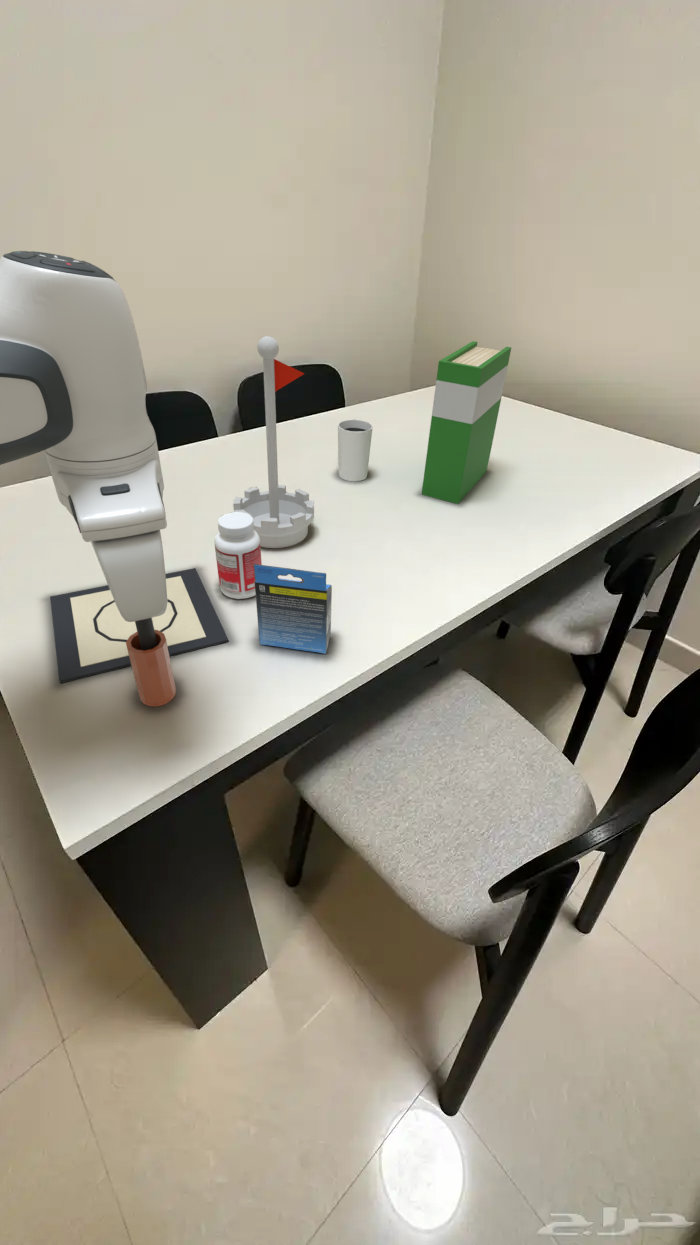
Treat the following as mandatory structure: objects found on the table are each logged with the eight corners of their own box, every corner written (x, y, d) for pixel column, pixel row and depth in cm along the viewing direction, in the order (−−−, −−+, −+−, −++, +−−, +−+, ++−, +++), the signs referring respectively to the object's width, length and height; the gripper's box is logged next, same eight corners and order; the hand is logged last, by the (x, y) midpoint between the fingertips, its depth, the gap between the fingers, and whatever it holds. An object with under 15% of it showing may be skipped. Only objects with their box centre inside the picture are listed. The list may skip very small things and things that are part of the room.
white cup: (354, 485, 113) (357, 434, 107) (329, 474, 116) (330, 425, 110) (376, 475, 117) (379, 426, 111) (351, 465, 120) (353, 417, 114)
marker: (148, 678, 64) (123, 571, 55) (145, 668, 65) (120, 562, 56) (164, 674, 64) (141, 568, 56) (161, 664, 66) (138, 559, 57)
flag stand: (246, 556, 91) (230, 350, 72) (228, 518, 100) (210, 327, 82) (324, 544, 95) (329, 346, 76) (300, 508, 104) (299, 324, 86)
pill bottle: (260, 574, 87) (256, 507, 80) (265, 598, 82) (261, 529, 75) (218, 578, 86) (211, 510, 79) (220, 602, 81) (212, 532, 74)
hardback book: (453, 463, 123) (472, 341, 109) (486, 471, 121) (511, 347, 106) (421, 494, 111) (438, 361, 96) (458, 504, 108) (481, 368, 94)
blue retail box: (331, 636, 76) (334, 556, 69) (326, 655, 73) (328, 573, 66) (266, 626, 77) (261, 546, 70) (257, 645, 74) (252, 563, 67)
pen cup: (143, 710, 65) (129, 657, 60) (137, 687, 67) (123, 634, 62) (179, 700, 66) (168, 647, 61) (172, 678, 69) (161, 625, 64)
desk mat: (60, 683, 67) (58, 679, 67) (50, 598, 80) (49, 595, 80) (228, 641, 75) (228, 638, 74) (195, 570, 87) (195, 567, 87)
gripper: (60, 435, 56) (93, 557, 65) (80, 535, 42) (120, 674, 51) (128, 428, 59) (151, 546, 67) (169, 520, 44) (192, 655, 53)
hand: (138, 602), depth 59 cm, fingers closed on marker, 2 cm apart
